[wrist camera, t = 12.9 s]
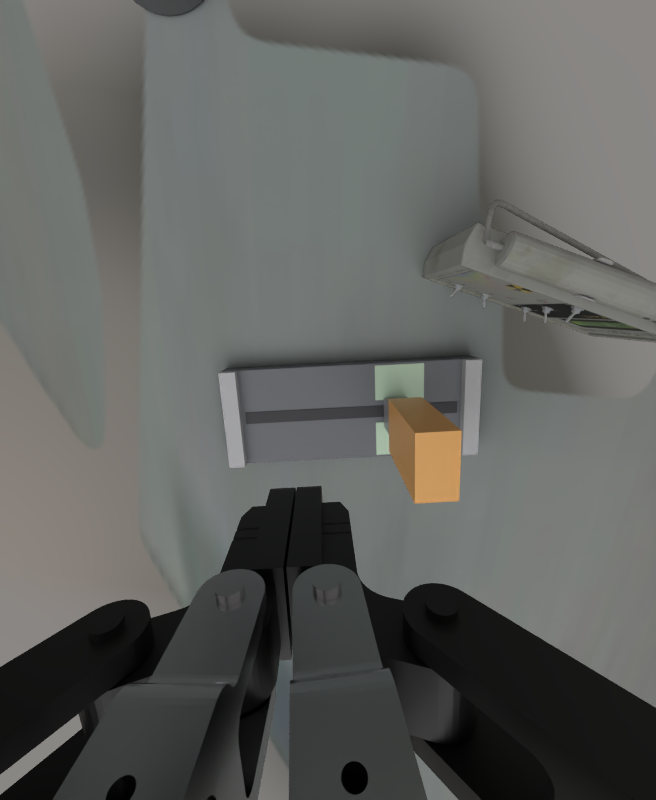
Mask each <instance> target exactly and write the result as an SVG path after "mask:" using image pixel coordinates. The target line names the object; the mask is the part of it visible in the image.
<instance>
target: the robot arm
mask: <svg viewBox="0 0 656 800" xmlns="http://www.w3.org/2000/svg"><path fill="white" fill-rule="evenodd" d="M134 1H135V2H136V3H137V4H138V5H140V6H141V7H143V8H144V9H146V10H148V11H151V12H153V13H156V14H160V15H167V16H171V15H180V14H183V13H185V12H188V11H190V10H192V9H193V8H195V7H196V6H197V5H199V4H200V3H201V2H202V1H203V0H134ZM233 539H234V540H233V541H232V543H231V546H230V549H229V551H228V554H227V557H226V559H225V562H224V564H223V567H222V570H221V572H220V574H217V575H215V576H213V577H212V578H210V579H209V580H207V581H206V582H205V583H204V584H203V585H202V586H201V587H200V588H199V590H198V591H197V593H196V595H195V597H194V598H193V600H192V602H191V604H190V605H189V606H187V607H185V608H182V609H179V610H177V611H173V612H170V613H167V614H164V615H160V616H157V617H153V618H151V617H150V612H149V609H148V607H147V606H146V604H144V603H143V602H141V601H137V600H121V601H116V602H112V603H110V604H107V605H104V606H102V607H100V608H98V609H96V610H94V611H92V612H91V613H89V614H87V615H86V616H84V617H82V618H81V619H79V620H77V621H76V622H74V623H72V624H71V625H69V626H67V627H66V628H64V629H63V630H61V631H59V632H57V633H56V634H54V635H52V636H51V637H49V638H48V639H46V640H44V641H43V642H41V643H39V644H38V645H36V646H34V647H33V648H31V649H29V650H28V651H26V652H24V653H23V654H21V655H19V656H18V657H16V658H14V659H13V660H11V661H9V662H8V663H6V664H5V665H3V666H2V667H0V774H1V773H3V772H4V771H5V770H7V769H8V768H9V767H10V766H12V765H13V764H14V763H16V762H17V761H18V760H19V759H21V758H22V757H23V756H24V755H26V754H27V753H28V752H30V751H31V750H32V749H33V748H35V747H36V746H37V745H39V744H40V743H41V742H43V741H44V740H45V739H46V738H48V737H49V736H50V735H51V734H53V733H54V732H55V731H57V730H58V729H59V728H60V727H62V726H63V725H64V724H66V723H67V722H68V721H70V720H71V719H72V718H73V717H75V716H76V715H77V714H79V717H80V721H81V724H82V729H81V730H80V731H78V732H77V733H76V734H75V735H74V736H72V737H71V738H70V739H69V740H67V741H66V742H65V743H64V744H63V745H61V746H60V747H59V748H58V749H56V750H55V751H54V752H53V753H51V754H50V755H49V756H48V757H47V758H45V759H44V760H43V761H42V762H40V763H39V764H38V765H37V766H35V767H34V768H33V769H32V770H30V771H29V772H28V773H27V774H26V775H24V776H23V777H22V778H21V779H19V780H18V781H17V782H16V783H14V784H13V785H12V786H11V787H10V788H8V789H7V790H6V791H5V792H3V793H2V794H1V795H0V800H258V794H259V789H260V783H261V778H262V773H263V767H264V762H265V756H266V751H267V746H268V740H269V735H270V730H271V724H272V719H273V714H274V708H275V703H276V685H275V684H276V681H277V675H278V666H279V660H291V658H292V646H293V680H291V681H290V701H289V800H427V796H426V793H425V789H424V786H423V782H422V779H421V775H420V771H419V768H418V764H417V761H416V757H415V753H416V754H417V755H418V756H419V757H420V758H421V759H422V760H423V761H424V763H425V764H426V765H427V766H428V767H429V768H430V769H431V770H432V771H433V772H434V773H435V774H436V776H437V777H438V778H439V779H440V780H441V781H442V782H443V783H444V784H445V785H446V786H447V788H448V789H449V790H450V791H451V792H452V793H453V794H454V795H455V796H456V797H457V798H458V799H459V800H656V708H655V707H653V706H652V705H650V704H648V703H647V702H645V701H643V700H642V699H640V698H638V697H637V696H635V695H633V694H632V693H630V692H628V691H627V690H625V689H623V688H622V687H620V686H618V685H617V684H615V683H613V682H612V681H610V680H608V679H607V678H605V677H604V676H602V675H600V674H599V673H597V672H595V671H594V670H592V669H590V668H589V667H587V666H585V665H584V664H582V663H580V662H579V661H577V660H575V659H574V658H572V657H570V656H569V655H567V654H565V653H564V652H562V651H560V650H559V649H557V648H555V647H554V646H552V645H550V644H549V643H547V642H545V641H544V640H542V639H540V638H539V637H537V636H535V635H534V634H532V633H530V632H529V631H527V630H526V629H524V628H522V627H521V626H519V625H517V624H516V623H514V622H512V621H511V620H509V619H507V618H506V617H504V616H502V615H501V614H499V613H497V612H496V611H494V610H492V609H491V608H489V607H487V606H486V605H484V604H482V603H481V602H479V601H477V600H476V599H474V598H472V597H471V596H469V595H467V594H466V593H464V592H462V591H460V590H459V589H457V588H454V587H452V586H448V585H444V584H438V583H430V584H423V585H419V586H417V587H415V588H413V589H412V590H410V591H409V592H408V593H407V595H406V596H405V598H404V601H403V600H398V599H393V598H389V597H385V596H382V595H379V594H377V593H375V592H373V591H371V590H370V589H369V588H367V587H366V586H365V585H364V584H363V583H362V582H361V580H360V578H359V576H358V573H357V568H356V561H355V554H354V547H353V540H352V534H351V526H350V519H349V511H348V510H347V509H346V508H345V507H344V506H343V505H342V504H341V502H328V503H322V488H321V486H313V487H297V491H296V488H278V489H270V492H269V496H268V499H267V503H266V506H258V507H252V508H251V509H250V510H249V511H248V512H246V513H245V514H244V515H243V516H242V517H241V520H240V523H239V525H238V528H237V531H236V533H235V536H234V538H233ZM414 751H415V753H414Z"/></svg>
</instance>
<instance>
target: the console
mask: <svg viewBox="0 0 656 800" xmlns="http://www.w3.org/2000/svg"><path fill="white" fill-rule="evenodd" d="M218 375H219V383H220V392H221V400H222V408H223V416H224V425H225V433H226V441H227V449H228V458H229V466H230V468H239V467H245V466H246V464H247V463H262V462H280V461H298V460H317V459H335V458H353V457H372V456H390V455H391V454H390V452H389V434H388V432H387V431H386V429H385V427H384V398H394V397H408V398H414V397H422V398H424V399H425V400H426V401H427V402H428V403H430V404H431V405H432V406H433V407H434V408H436V409H437V410H438V411H439V412H440V413H441V414H443V415H444V416H445V417H446V418H447V419H449V420H450V421H451V422H452V423H453V424H455V425H456V426H457V427H458V428H459V429H460V430H462V438H461V454H462V455H477V454H478V438H479V418H480V397H481V377H482V359H479V358H476V357H472V356H459V357H440V358H421V359H401V360H382V361H363V362H344V363H325V364H306V365H287V366H268V367H249V368H230V369H225V370H223V371H221V372H220V373H218Z"/></svg>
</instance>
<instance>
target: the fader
mask: <svg viewBox="0 0 656 800" xmlns="http://www.w3.org/2000/svg"><path fill="white" fill-rule="evenodd" d="M384 427H385V429H386V431H387V432H388V434H389V452H390V454H391V456H392V458H393V460H394V462H395V464H396V466H397V468H398V470H399V472H400V474H401V476H402V479H403V481H404V483H405V485H406V487H407V489H408V491H409V493H410V495H411V497H412V499H413V501H414V503H433V502H451V501H459V491H460V464H461V438H462V430H460V429H459V428H458V427H457V426H456V425H455V424H453V423H452V422H451V421H450V420H449V419H447V418H446V417H445V416H444V415H443V414H441V413H440V412H439V411H438V410H437V409H436V408H434V407H433V406H432V405H431V404H430V403H428V402H427V401H426V400H425V399H424V398H422V397H414V398H408V397H394V398H384Z"/></svg>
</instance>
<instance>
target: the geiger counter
mask: <svg viewBox="0 0 656 800" xmlns="http://www.w3.org/2000/svg"><path fill="white" fill-rule="evenodd" d="M496 206H499V207H501V208H504V209H506V210H508V211H509V212H511V213H513V214H515V215H516V216H518V217H520V218H522V219H524V220H526V221H527V222H529V223H531V224H533V225H535V226H537V227H538V228H540V229H542V230H544V231H546V232H547V233H549V234H551V235H553V236H555V237H557V238H558V239H560V240H562V241H564V242H566V243H568V244H570V245H571V246H573V247H575V248H577V249H579V250H581V251H583V252H584V253H586V254H588V255H590V256H592V257H593V258H595V259H593V260H591V259H589V258H586V257H583V256H580V255H577V254H575V253H572V252H570V251H567V250H564V249H561V248H559V247H556V246H553V245H551V244H548V243H545V242H542V241H540V240H537V239H534V238H532V237H529V236H526V235H523V234H520V233H518V232H515V231H512V232H510V233H509V234H507V233H504V232H502V231H499V230H496V229H493V228H491V226H492V219H493V215H494V211H495V208H496ZM422 277H423V278H426V279H428V280H431V281H434V282H437V283H440V284H443V285H446V286H449V287H452V288H454V289H455V291H454V292H453V293H452V294H451V295H450V297H452V296H453V295H454V294H455V293H456V291H458V290H460V291H463V292H466V293H469V294H472V295H475V296H477V297H480V298H482V299H483V308H485V300H489V301H492V302H495V303H498V304H500V305H503V306H506V307H509V308H512V309H515V310H518V311H521V312H523V313H524V317H523V321H524V322H525V321H526V314H529V315H532V316H535V317H538V318H541V319H544V323H546V322H547V321H549V322H552V323H555V324H558V325H561V326H564V327H567V328H570V329H572V330H575V331H578V332H581V333H584V334H587V335H590V336H596V337H606V338H616V339H626V340H635V341H646V342H655V343H656V283H653V282H651V281H649V280H647V279H645V278H643V277H642V276H640V275H638V274H636V273H634V272H632V271H631V270H629V269H627V268H625V267H623V266H621V265H619V264H618V263H616V262H614V261H612V260H610V259H609V258H607V257H605V256H603V255H601V254H600V253H598V252H596V251H594V250H592V249H591V248H589V247H587V246H585V245H583V244H581V243H580V242H578V241H576V240H574V239H572V238H571V237H569V236H567V235H565V234H563V233H562V232H559V231H558V230H556V229H554V228H552V227H551V226H549V225H547V224H545V223H543V222H542V221H539V220H538V219H536V218H534V217H532V216H530V215H529V214H527V213H525V212H523V211H522V210H520V209H518V208H516V207H514V206H512V205H510V204H509V203H507V202H505V201H501V200H494V201H493V202H492V203H491V204H490V207H489V209H488V211H487V216H486V219H485V225H483V224H480V223H476V224H475V225H473V226H471V227H469V228H467V229H465V230H464V231H462V232H460V233H458V234H456V235H455V236H453V237H451V238H449V239H447V240H445V241H444V242H442V243H440V244H438V245H436V246H435V247H433V248H432V250H431V252H430V253H429V255H428V257H427V259H426V260H425V264H424V270H423V276H422Z"/></svg>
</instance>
